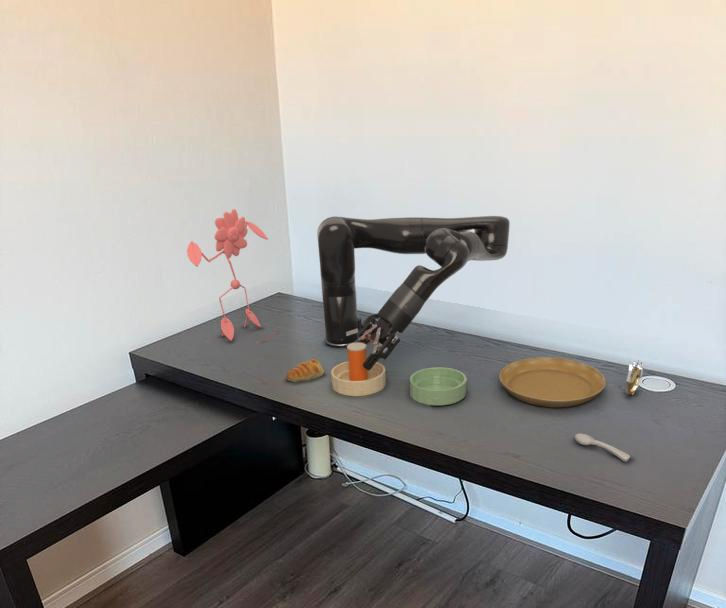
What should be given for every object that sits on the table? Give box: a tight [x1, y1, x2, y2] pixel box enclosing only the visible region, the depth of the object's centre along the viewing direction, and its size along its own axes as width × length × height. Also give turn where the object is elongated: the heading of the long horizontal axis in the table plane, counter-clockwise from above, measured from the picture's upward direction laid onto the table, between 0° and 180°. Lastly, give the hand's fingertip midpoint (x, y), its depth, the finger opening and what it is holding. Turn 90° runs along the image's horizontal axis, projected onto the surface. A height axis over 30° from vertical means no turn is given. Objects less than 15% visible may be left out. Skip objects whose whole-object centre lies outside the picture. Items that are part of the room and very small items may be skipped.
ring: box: [625, 360, 645, 396], centre depth 155 cm, size 7×3×8 cm, turn 137°
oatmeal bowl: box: [330, 360, 387, 397], centre depth 167 cm, size 13×13×4 cm
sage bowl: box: [409, 366, 468, 406], centre depth 161 cm, size 13×13×4 cm
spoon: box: [574, 433, 631, 463], centre depth 137 cm, size 3×12×2 cm, turn 42°
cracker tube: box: [346, 343, 368, 381], centre depth 165 cm, size 5×5×10 cm
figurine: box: [186, 208, 280, 345], centre depth 192 cm, size 15×26×35 cm, turn 141°
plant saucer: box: [498, 356, 607, 408], centre depth 160 cm, size 24×24×3 cm
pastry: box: [286, 358, 325, 383], centre depth 173 cm, size 9×7×4 cm
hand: (359, 362), depth 165 cm, fingers open, 8 cm apart
